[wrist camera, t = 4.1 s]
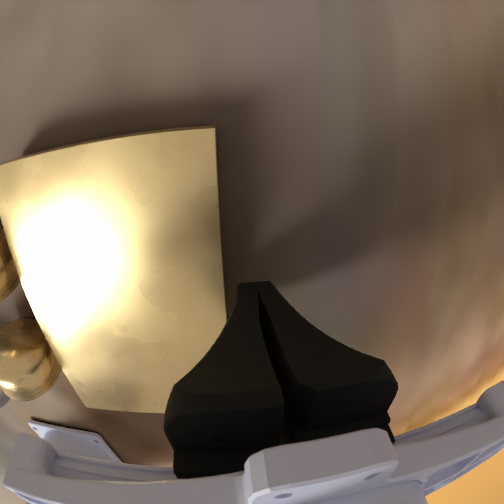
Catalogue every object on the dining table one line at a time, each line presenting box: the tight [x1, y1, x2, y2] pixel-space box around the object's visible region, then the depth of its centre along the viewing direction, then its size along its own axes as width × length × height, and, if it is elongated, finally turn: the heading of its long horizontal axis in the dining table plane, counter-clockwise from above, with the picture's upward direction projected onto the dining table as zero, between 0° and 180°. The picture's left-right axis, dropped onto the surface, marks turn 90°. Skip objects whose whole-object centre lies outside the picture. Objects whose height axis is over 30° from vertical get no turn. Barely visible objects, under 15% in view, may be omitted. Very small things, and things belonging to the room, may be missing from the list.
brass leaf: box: [0, 125, 227, 413], centre depth 11 cm, size 14×14×4 cm
